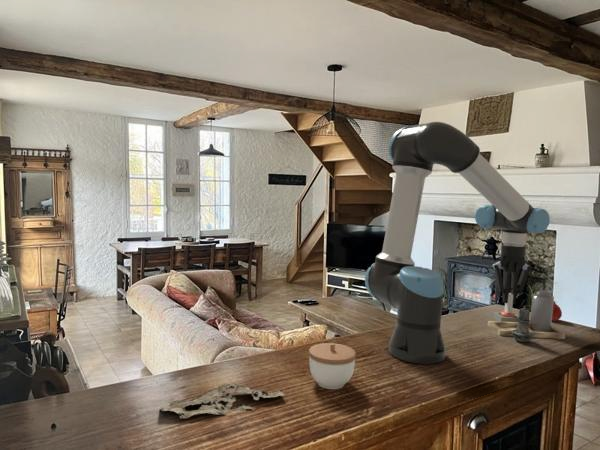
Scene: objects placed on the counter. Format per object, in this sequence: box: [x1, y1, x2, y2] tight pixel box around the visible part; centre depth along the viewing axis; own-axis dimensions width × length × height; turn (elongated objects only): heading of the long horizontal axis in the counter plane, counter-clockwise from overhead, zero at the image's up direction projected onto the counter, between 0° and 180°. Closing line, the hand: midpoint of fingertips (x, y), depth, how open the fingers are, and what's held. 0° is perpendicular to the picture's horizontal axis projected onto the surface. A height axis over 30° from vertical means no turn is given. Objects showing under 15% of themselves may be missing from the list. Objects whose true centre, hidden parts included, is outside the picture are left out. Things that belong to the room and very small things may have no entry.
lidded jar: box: [308, 342, 357, 390], centre depth 104 cm, size 11×11×9 cm
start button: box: [500, 310, 516, 318], centre depth 157 cm, size 4×4×3 cm
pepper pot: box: [529, 289, 555, 332], centre depth 145 cm, size 6×6×14 cm
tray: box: [487, 320, 566, 340], centre depth 145 cm, size 20×10×2 cm, turn 87°
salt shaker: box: [512, 305, 533, 343], centre depth 136 cm, size 6×6×12 cm
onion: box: [552, 300, 563, 322], centre depth 160 cm, size 6×6×8 cm
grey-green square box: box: [493, 311, 519, 322], centre depth 157 cm, size 7×7×3 cm
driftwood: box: [159, 383, 286, 420], centre depth 92 cm, size 25×10×5 cm
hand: (508, 312), depth 157 cm, fingers closed
